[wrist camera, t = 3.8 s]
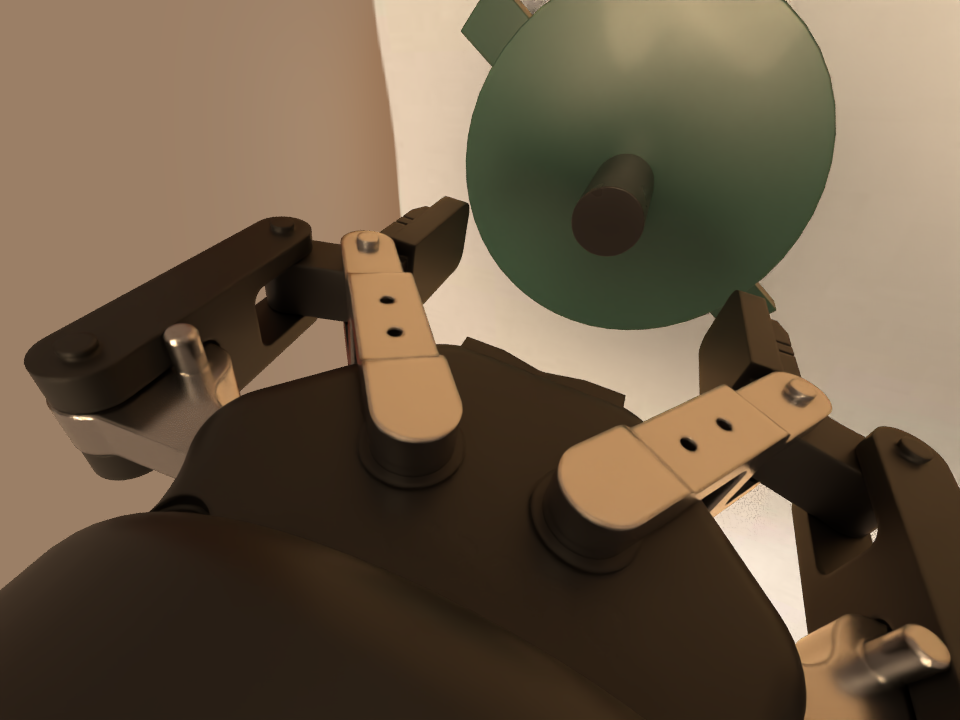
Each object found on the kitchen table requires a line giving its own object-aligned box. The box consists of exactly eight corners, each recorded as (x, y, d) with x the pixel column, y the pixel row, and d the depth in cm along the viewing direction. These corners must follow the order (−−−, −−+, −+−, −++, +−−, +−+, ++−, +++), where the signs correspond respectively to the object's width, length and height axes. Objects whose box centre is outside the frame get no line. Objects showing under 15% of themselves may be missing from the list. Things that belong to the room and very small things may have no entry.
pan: (630, -152, 20) (604, -216, 14) (877, 185, 23) (935, 238, 18) (447, 114, 29) (388, 138, 23) (645, 326, 32) (634, 390, 27)
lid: (663, -167, 15) (650, -249, 10) (914, 183, 17) (992, 243, 13) (420, 174, 24) (357, 210, 20) (605, 363, 27) (587, 433, 23)
